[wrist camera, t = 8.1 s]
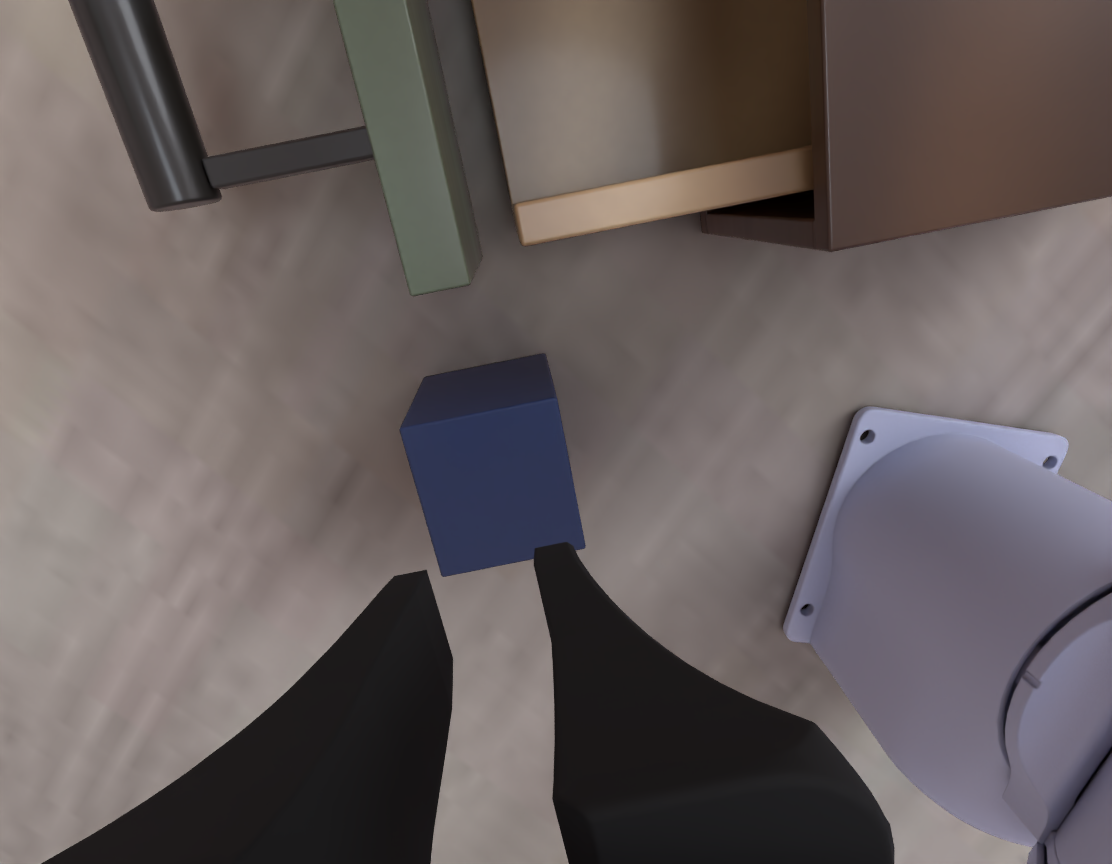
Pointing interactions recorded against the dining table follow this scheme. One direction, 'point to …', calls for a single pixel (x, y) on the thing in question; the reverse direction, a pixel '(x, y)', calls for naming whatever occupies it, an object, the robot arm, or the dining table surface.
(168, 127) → the drawer
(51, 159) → the dining table surface
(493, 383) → the box
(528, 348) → the dining table surface
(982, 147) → the cabinet
